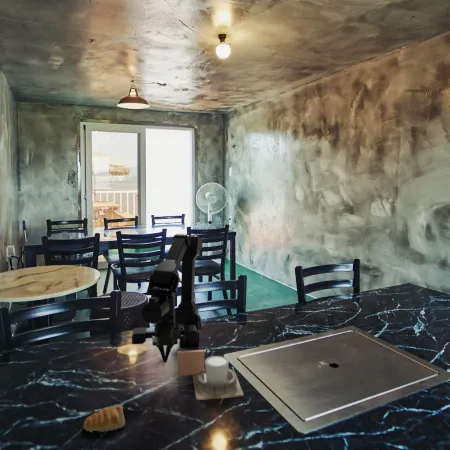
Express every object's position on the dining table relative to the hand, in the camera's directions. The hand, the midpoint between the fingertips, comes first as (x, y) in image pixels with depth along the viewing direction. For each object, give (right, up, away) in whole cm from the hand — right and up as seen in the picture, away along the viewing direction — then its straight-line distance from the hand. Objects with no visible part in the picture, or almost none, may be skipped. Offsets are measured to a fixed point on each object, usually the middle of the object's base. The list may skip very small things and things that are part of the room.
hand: (165, 362), depth 113 cm
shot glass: (+15, -5, -3) cm, 17 cm away
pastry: (-11, -8, -21) cm, 25 cm away
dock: (+15, -6, -3) cm, 17 cm away
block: (+7, -5, +2) cm, 9 cm away
